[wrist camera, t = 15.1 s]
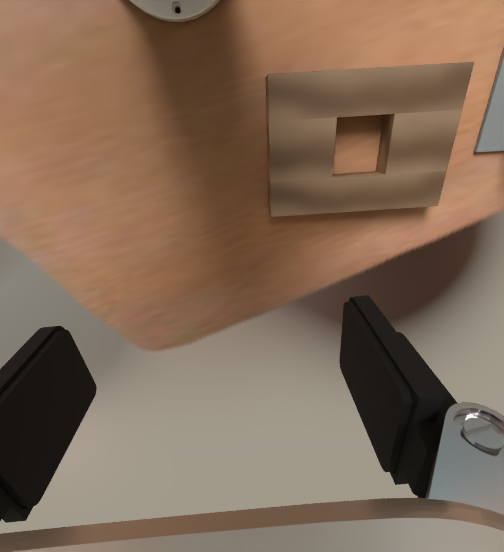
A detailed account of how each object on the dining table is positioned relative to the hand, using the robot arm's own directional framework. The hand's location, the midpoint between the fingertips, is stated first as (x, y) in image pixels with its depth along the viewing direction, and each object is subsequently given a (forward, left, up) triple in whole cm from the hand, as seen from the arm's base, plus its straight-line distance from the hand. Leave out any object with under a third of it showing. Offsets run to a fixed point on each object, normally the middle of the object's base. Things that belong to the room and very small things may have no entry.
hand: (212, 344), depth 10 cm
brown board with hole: (-4, +15, -28) cm, 32 cm away
